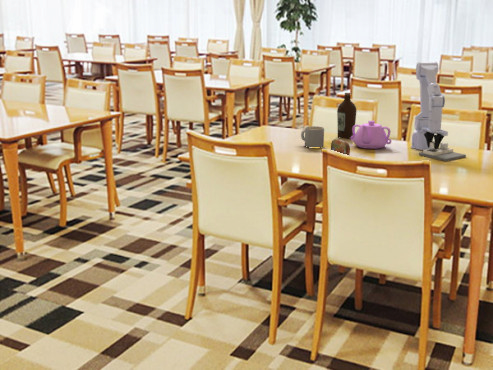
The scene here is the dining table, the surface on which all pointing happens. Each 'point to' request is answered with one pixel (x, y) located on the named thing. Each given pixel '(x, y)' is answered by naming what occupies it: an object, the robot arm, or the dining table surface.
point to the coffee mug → (313, 136)
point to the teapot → (370, 135)
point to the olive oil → (346, 117)
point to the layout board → (442, 153)
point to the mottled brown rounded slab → (340, 146)
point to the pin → (432, 146)
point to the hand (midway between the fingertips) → (433, 148)
